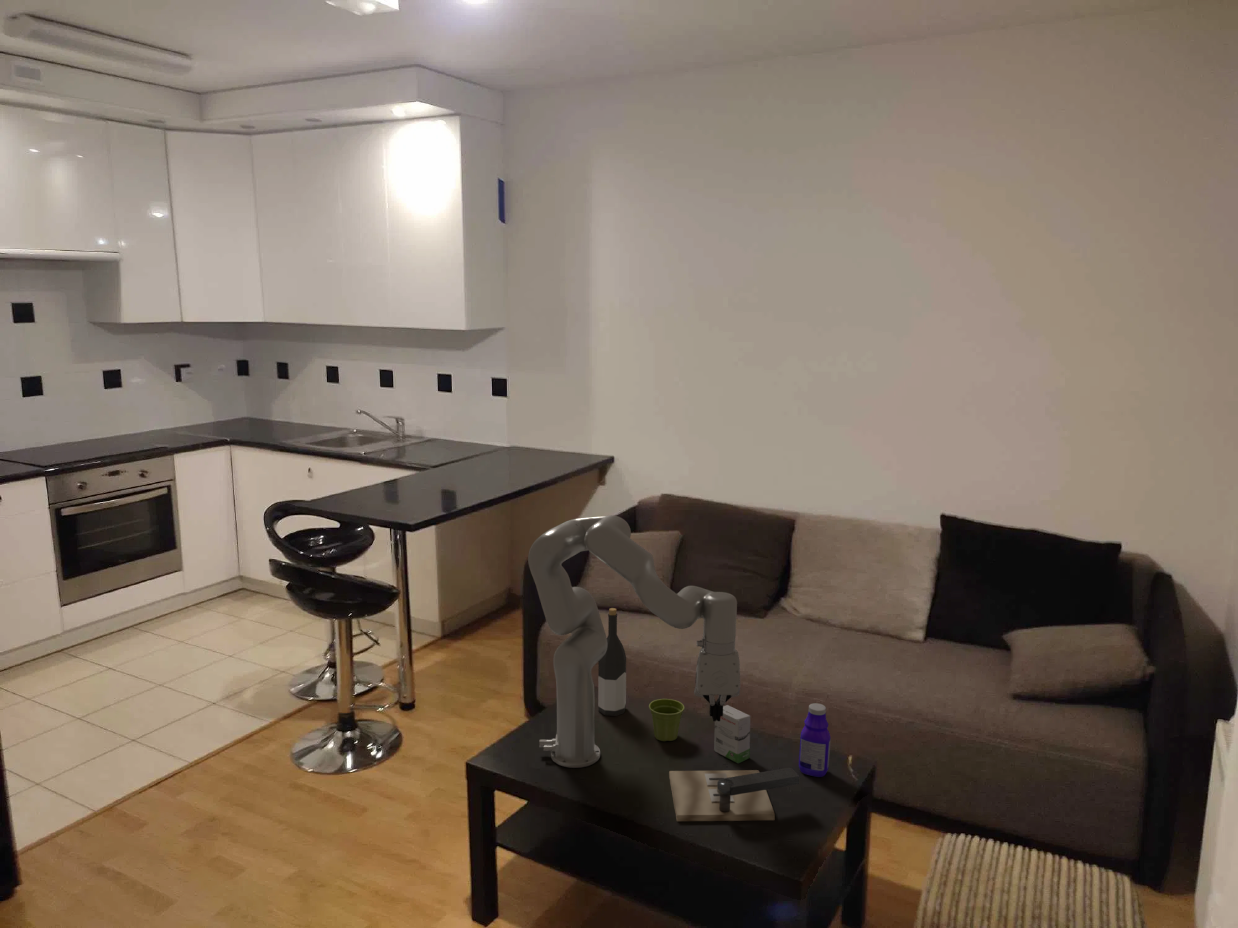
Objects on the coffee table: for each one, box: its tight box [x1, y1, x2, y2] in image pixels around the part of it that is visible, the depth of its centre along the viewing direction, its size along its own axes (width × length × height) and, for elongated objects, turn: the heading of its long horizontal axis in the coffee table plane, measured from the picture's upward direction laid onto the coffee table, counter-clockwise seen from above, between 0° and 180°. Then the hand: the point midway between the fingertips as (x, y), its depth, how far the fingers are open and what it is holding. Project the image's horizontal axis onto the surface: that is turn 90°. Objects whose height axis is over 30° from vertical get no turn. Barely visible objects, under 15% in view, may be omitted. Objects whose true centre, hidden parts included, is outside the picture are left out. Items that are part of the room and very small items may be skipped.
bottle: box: [798, 703, 832, 778], centre depth 219 cm, size 7×6×17 cm
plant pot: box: [648, 698, 685, 742], centre depth 237 cm, size 9×9×9 cm
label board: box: [668, 769, 776, 822], centre depth 208 cm, size 22×19×6 cm
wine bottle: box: [597, 607, 627, 717], centre depth 250 cm, size 8×8×30 cm
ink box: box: [713, 704, 751, 764], centre depth 227 cm, size 9×5×12 cm, turn 39°
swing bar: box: [717, 766, 800, 796], centre depth 202 cm, size 4×19×2 cm, turn 107°
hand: (715, 718), depth 211 cm, fingers closed
